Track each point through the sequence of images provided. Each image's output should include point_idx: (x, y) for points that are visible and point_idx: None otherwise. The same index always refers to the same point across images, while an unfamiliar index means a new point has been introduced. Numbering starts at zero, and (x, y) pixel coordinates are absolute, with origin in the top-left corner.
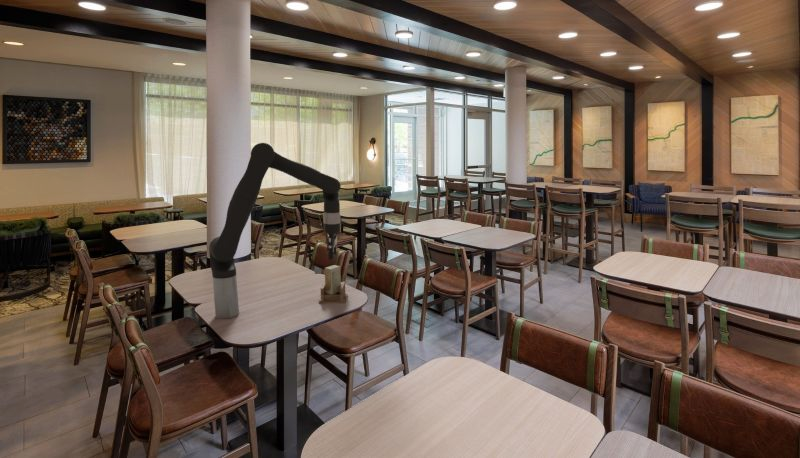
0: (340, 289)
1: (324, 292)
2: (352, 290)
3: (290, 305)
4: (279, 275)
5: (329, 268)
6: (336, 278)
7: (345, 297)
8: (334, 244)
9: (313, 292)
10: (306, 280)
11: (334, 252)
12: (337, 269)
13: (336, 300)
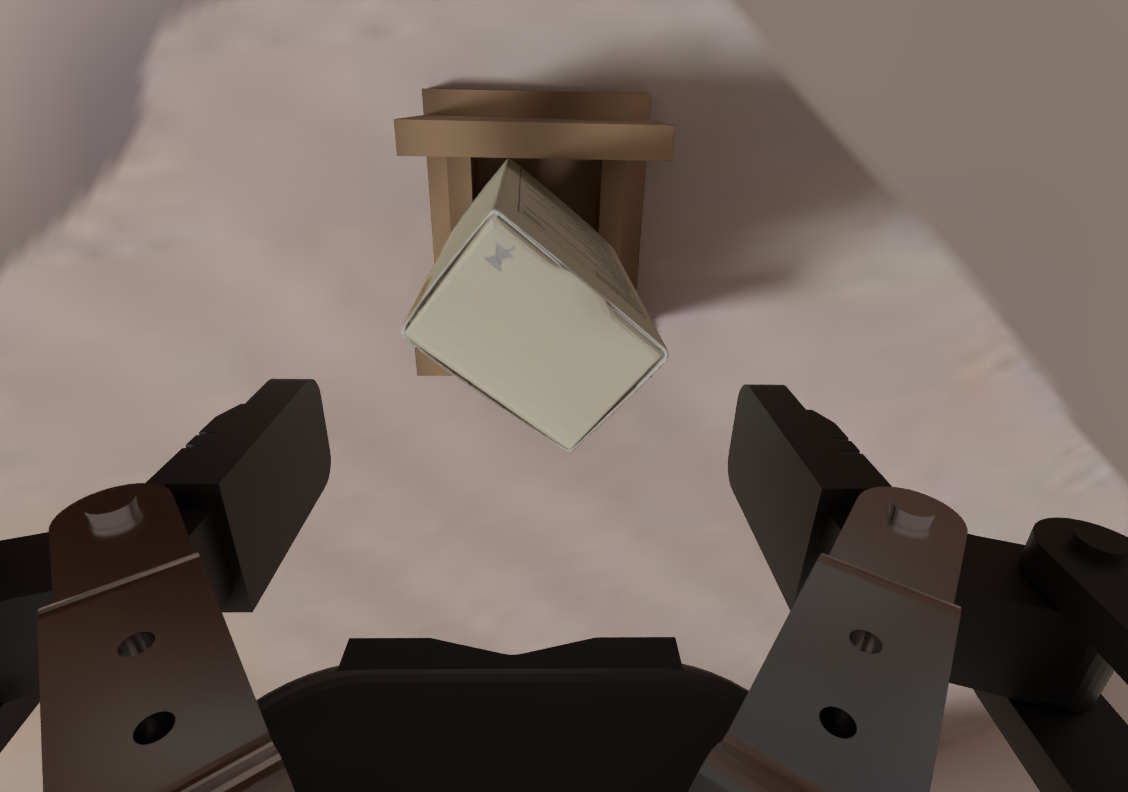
0: (670, 151)
1: None
2: (247, 44)
3: (663, 521)
4: (34, 711)
5: (617, 377)
6: (568, 232)
7: (541, 100)
8: (946, 645)
9: (373, 423)
10: None
11: (303, 437)
12: (551, 245)
13: (625, 188)
